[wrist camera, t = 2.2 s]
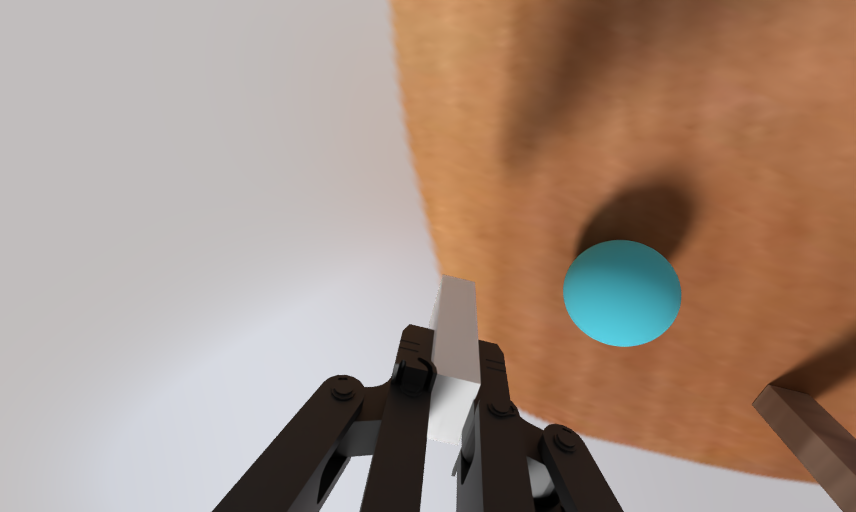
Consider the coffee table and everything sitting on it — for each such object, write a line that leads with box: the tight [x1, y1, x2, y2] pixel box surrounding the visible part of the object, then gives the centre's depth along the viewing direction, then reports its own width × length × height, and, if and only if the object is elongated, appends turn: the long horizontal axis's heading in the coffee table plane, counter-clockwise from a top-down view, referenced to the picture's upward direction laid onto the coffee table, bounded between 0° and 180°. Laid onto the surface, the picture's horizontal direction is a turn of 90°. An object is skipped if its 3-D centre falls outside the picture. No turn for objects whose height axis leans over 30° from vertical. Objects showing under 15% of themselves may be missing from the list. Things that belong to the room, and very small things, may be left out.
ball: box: [563, 240, 681, 347], centre depth 23 cm, size 6×6×6 cm
